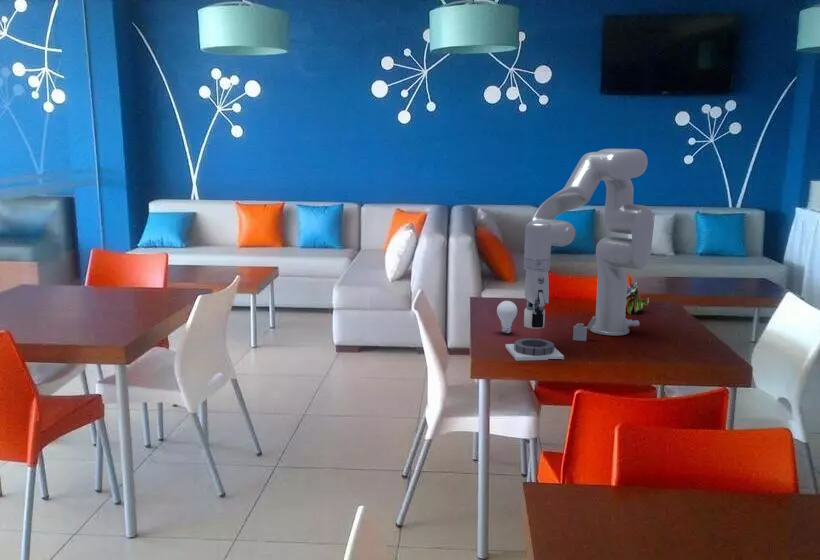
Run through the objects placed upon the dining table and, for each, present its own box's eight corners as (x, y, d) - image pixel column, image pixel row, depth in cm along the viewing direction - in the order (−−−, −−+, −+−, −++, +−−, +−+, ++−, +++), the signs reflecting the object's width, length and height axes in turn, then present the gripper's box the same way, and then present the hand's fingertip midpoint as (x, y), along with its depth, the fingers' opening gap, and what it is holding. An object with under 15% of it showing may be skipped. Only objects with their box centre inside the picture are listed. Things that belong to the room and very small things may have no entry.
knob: (541, 323, 220) (542, 305, 219) (546, 328, 214) (547, 309, 213) (521, 323, 220) (522, 305, 219) (526, 328, 214) (527, 309, 213)
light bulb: (515, 336, 237) (516, 303, 235) (495, 335, 238) (496, 302, 236) (517, 331, 244) (518, 299, 241) (497, 330, 245) (497, 298, 243)
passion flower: (617, 325, 277) (610, 293, 283) (650, 320, 275) (643, 288, 281) (618, 313, 266) (611, 279, 272) (653, 308, 264) (645, 274, 270)
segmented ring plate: (549, 346, 226) (550, 336, 226) (563, 359, 213) (564, 349, 212) (505, 347, 225) (505, 337, 224) (516, 360, 211) (516, 350, 211)
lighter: (572, 340, 234) (574, 315, 232) (573, 338, 235) (574, 314, 234) (595, 341, 232) (597, 317, 230) (595, 340, 233) (597, 315, 232)
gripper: (558, 269, 206) (555, 331, 209) (541, 259, 223) (538, 317, 226) (532, 269, 205) (529, 332, 208) (517, 259, 222) (514, 318, 225)
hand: (534, 324), depth 217 cm, fingers closed on knob, 5 cm apart
